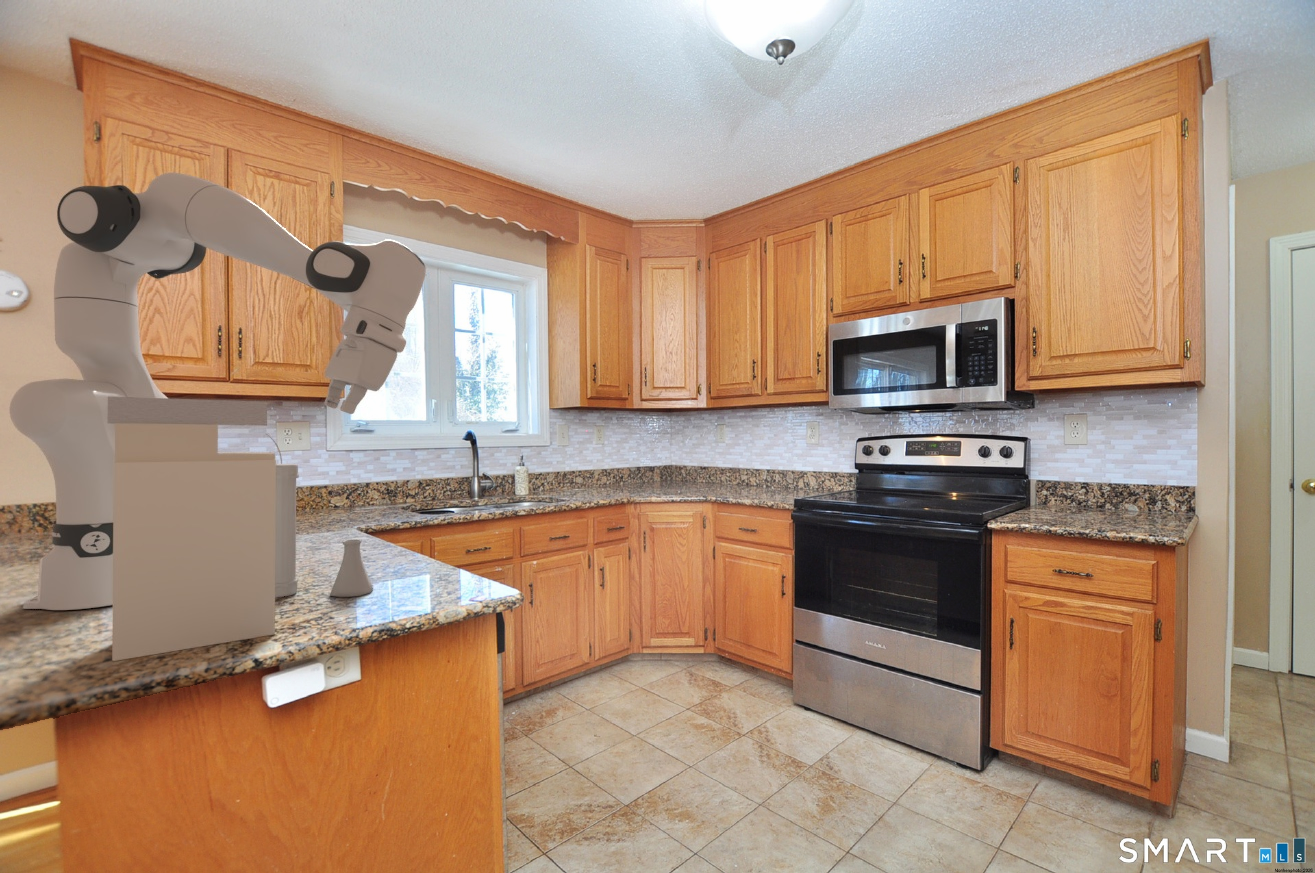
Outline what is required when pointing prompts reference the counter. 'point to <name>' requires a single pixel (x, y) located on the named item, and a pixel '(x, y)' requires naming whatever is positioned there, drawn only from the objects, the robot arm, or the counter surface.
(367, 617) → the counter surface
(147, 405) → the bar
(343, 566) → the flask
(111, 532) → the robot arm
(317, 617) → the counter surface
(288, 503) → the pipe
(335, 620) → the counter surface
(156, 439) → the stepped beige panel
